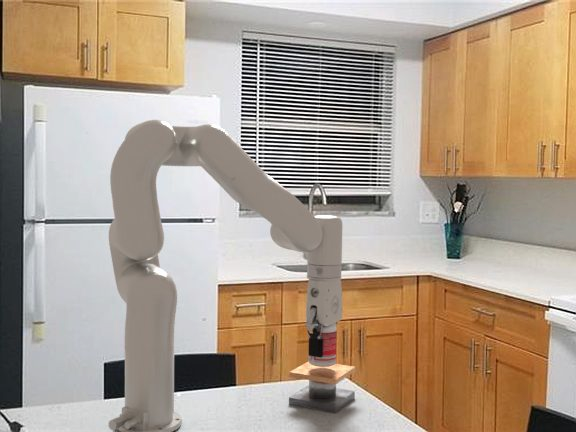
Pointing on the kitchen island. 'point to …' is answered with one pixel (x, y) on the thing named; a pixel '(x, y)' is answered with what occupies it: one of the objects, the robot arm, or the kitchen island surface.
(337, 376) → the stand
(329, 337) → the pill bottle
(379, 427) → the kitchen island surface
